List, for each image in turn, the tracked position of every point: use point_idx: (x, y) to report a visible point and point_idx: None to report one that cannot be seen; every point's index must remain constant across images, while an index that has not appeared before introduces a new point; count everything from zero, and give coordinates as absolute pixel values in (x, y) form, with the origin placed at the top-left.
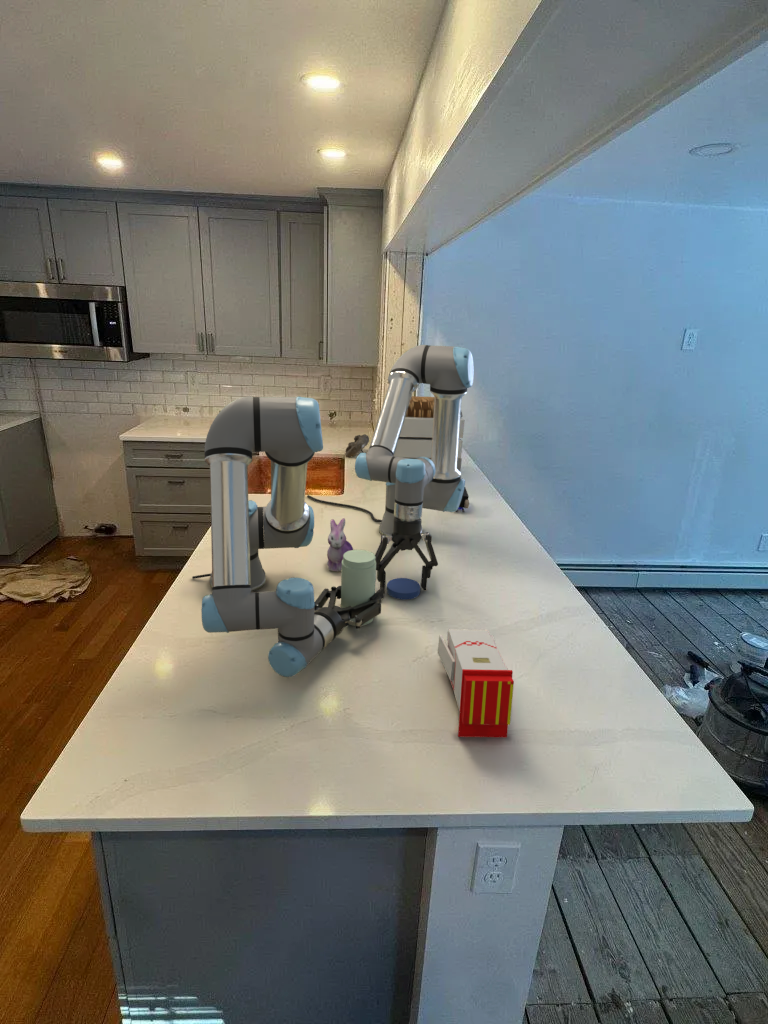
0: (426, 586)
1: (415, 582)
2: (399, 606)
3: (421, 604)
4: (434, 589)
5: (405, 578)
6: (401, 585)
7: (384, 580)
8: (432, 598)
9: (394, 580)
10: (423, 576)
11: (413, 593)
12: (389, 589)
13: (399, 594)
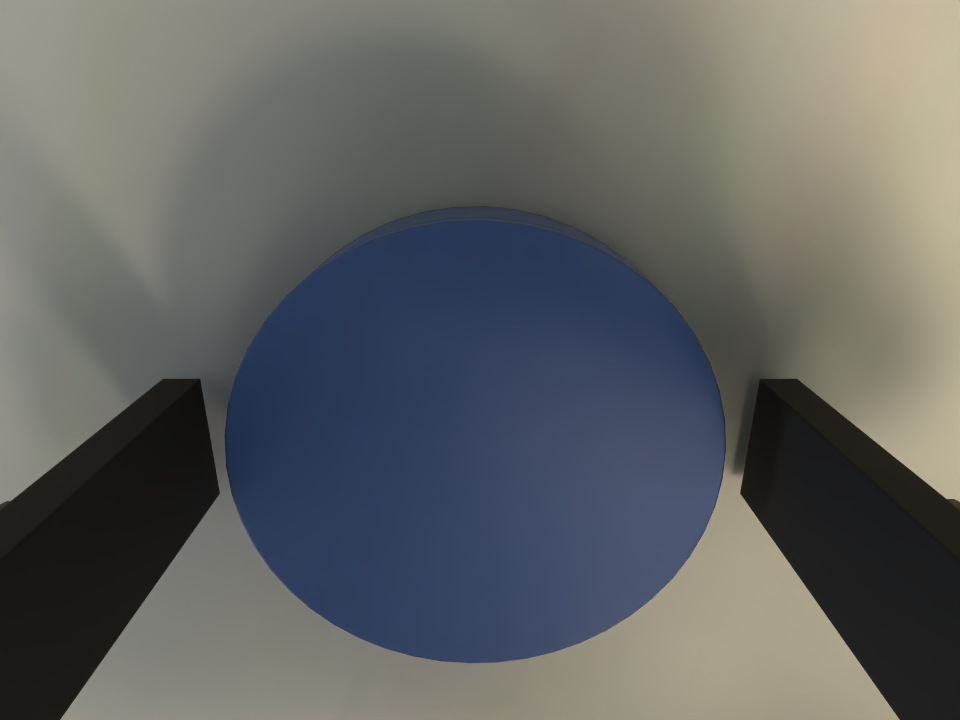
0: (131, 404)
1: (277, 525)
2: (664, 20)
3: (311, 20)
4: (49, 417)
5: (393, 640)
6: (506, 475)
7: (897, 489)
8: (109, 179)
9: (558, 613)
10: (101, 542)
11: (382, 235)
12: (719, 399)
13: (608, 254)
